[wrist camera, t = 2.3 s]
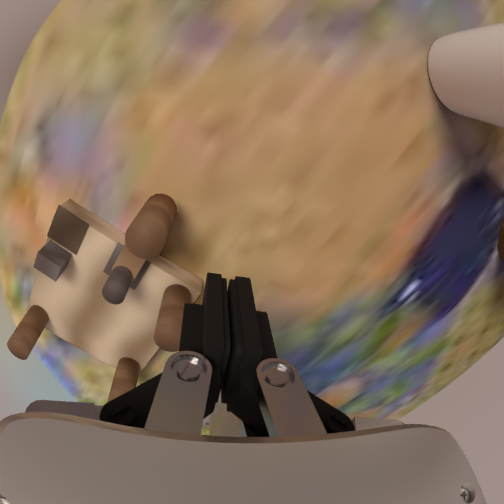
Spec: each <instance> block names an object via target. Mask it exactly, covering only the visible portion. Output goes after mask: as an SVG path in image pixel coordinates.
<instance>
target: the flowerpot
mask: <svg viewBox="0 0 504 504" xmlns="http://www.w3.org/2000/svg"><path fill="white" fill-rule="evenodd" d="M498 249H499V253H500V258H501V259H502V260H503V261H504V219H503V222H502V224H501V226H500V233H499V239H498Z"/></svg>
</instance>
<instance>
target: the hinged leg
mask: <svg viewBox="0 0 504 504" xmlns="http://www.w3.org/2000/svg"><path fill="white" fill-rule="evenodd" d="M176 211H177V208H176V204H175V202H174V201H173V199H172V198H171V197H169V196H167V195H165V194H156V195H153V196H151V197H150V198H149V199H148V200H147V202H146V203H145V205H144V206H143V207H142V209H141V210H140V212H139V213H138V215H137V216H136V217H135V219H134V220H133V222H132V223H131V225H130V226H129V228H128V229H127V231H126V234H125V245H124V247H123V249H122V250H121V252H120V254H119V256H118V258H117V260H116V262H115V264H114V265H113V267H112V272H111V274H110V276H109V277H108V279H107V281H106V283H105V285H104V287H103V289H102V295H103V297H104V299H105V300H106V301H107V302H109V303H111V304H115V305H117V304H121V303H122V302H123V301H124V299H125V297H126V294H127V292H128V289H129V287H130V285H131V282H133V281H134V279H135V278H136V276H137V274H138V272H139V271H140V269H141V267H142V266H143V264H144V262H145V261H146V259H151V258H154V257H156V256H158V255H159V254H160V253H161V252H162V250H163V248H164V245H165V242H166V240H167V237H168V234H169V231H170V229H171V226H172V223H173V221H174V218H175V215H176Z"/></svg>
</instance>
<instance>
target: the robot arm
mask: <svg viewBox="0 0 504 504" xmlns="http://www.w3.org/2000/svg"><path fill="white" fill-rule="evenodd" d="M202 424H203V425H205V426H206V427H208V428H209V429H210V436H209V435H201V429H202ZM0 504H487V503H486V501H485V498H484V496H483V493H482V490H481V488H480V485H479V483H478V481H477V478H476V476H475V474H474V472H473V470H472V467H471V466H470V463H469V461H468V459H467V457H466V456H465V454H464V452H463V450H462V449H461V447H460V445H459V444H458V442H457V441H456V440H455V438H454V437H453V436H452V435H451V434H450V433H449V432H447V431H446V430H444V429H441V428H438V427H435V426H429V425H421V424H404V423H403V422H401V421H397V420H384V419H371V418H360V417H354V418H353V419H350V418H349V417H348V416H346V415H345V414H344V413H342V412H341V411H339V410H337V409H336V408H334V407H333V406H331V405H329V404H328V403H326V402H325V401H323V400H321V399H320V398H318V397H317V396H315V395H314V394H312V393H311V392H309V391H308V390H306V387H305V385H304V383H303V381H302V379H301V377H300V375H299V372H298V371H297V369H296V368H295V367H294V366H293V365H292V364H291V363H289V362H287V361H285V360H282V359H279V358H277V356H276V351H275V347H274V342H273V338H272V333H271V329H270V324H269V320H268V315H267V313H266V312H260V311H256V308H255V303H254V297H253V292H252V286H251V280H250V278H246V277H238V276H236V277H235V280H233V279H230V281H229V286H228V291H227V281H226V279H225V278H222V276H221V274H215V273H207V278H206V284H205V290H204V297H203V303H202V305H198V304H190V303H185V304H184V311H183V320H182V328H181V337H180V347H179V352H177V353H174V354H173V355H171V356H170V357H169V358H168V360H167V362H166V364H165V367H164V370H163V373H161V374H159V375H157V376H156V377H154V378H152V379H150V380H148V381H146V382H145V383H143V384H141V385H139V386H137V387H135V388H134V389H132V390H130V391H128V392H126V393H124V394H122V395H120V396H119V397H117V398H115V399H113V400H111V401H109V402H108V403H106V404H105V405H104V406H97V405H95V404H94V403H89V402H65V401H51V400H36V401H34V402H32V403H31V404H30V405H29V406H28V407H27V409H26V411H25V413H19V414H14V415H11V416H8V417H6V418H4V419H3V420H1V421H0Z"/></svg>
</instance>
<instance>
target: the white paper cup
mask: <svg viewBox="0 0 504 504" xmlns="http://www.w3.org/2000/svg"><path fill="white" fill-rule="evenodd" d="M428 73H429V78H430V81H431V84H432V87H433V89H434V91H435V93H436V95H437V97H438V98H439V100H440V101H441V102H442V103H443V104H444V105H445V106H446V107H447V108H448V109H449V110H451V111H452V112H454V113H456V114H459V115H462V116H465V117H469V118H472V119H476V120H479V121H482V122H486V123H489V124H492V125H495V126H498V127H501V128H504V23H499V24H493V25H487V26H482V27H477V28H472V29H467V30H463V31H459V32H455V33H451V34H447V35H444V36H442V37H440V38H438V39H437V40H436V41H435V42H434V43H433V44H432V46H431V48H430V51H429V54H428Z"/></svg>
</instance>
